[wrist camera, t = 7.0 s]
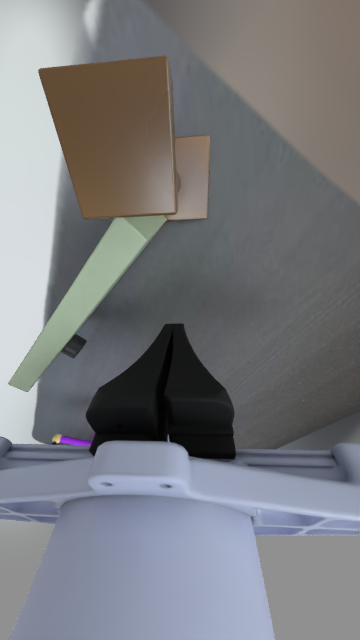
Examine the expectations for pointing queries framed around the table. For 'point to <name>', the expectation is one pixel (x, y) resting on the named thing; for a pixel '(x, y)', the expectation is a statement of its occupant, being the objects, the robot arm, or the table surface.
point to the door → (87, 295)
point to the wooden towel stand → (127, 140)
